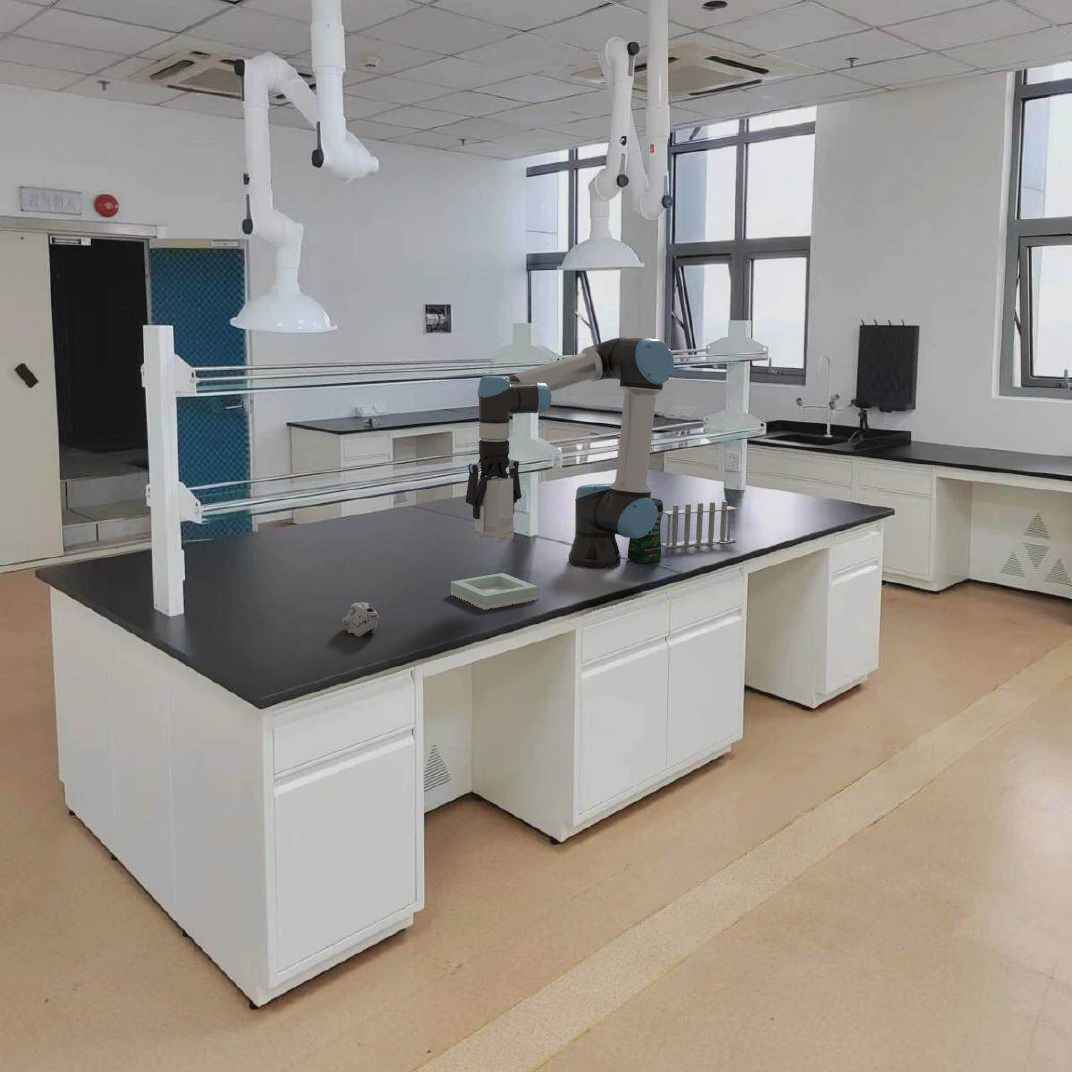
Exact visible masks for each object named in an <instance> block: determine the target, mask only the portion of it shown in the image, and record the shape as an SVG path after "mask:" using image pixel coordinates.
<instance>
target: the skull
mask: <svg viewBox="0 0 1072 1072" xmlns="http://www.w3.org/2000/svg"><path fill="white" fill-rule="evenodd" d="M378 621H380V616H379V614H378V612H377V611H376V610H375V608H374V607H370V603H368V602H365V601H364V602H363V601H361V602H353V603H352V604H351V606H350V609H349V610H348V612H347V615H346V616H344V617H342V619H341V622H342V625H343V627H344V628H346V629H347V633H348V634H354V636H356V637H357V638H358V637H361V636H363V635H365V634H366V633H367V632H369V631H372V632H373V633H376V631H377V626H378Z"/></svg>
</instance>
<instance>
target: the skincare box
mask: <svg viewBox="0 0 1072 1072" xmlns="http://www.w3.org/2000/svg"><path fill="white" fill-rule="evenodd" d="M485 477H486V476H485ZM480 481H481V479H480V477H478V483H479V482H480ZM478 483H477V486H478ZM481 506H484V532H478V531H475V519H474V518H473V522H474V524H473V525H474V527H473V528H474V530H473V531H474V540H475V539H477V540H482V541H487V542H488V541H490V542H495V543H504V542H506V541H510V540H512V539H514V538H515V537H514V535H515V533H514V532H515V531H514V529H515V528H514V520H515V519H514V514H513V478H510V477H508V478H501V477H497V476H495V477H492V478H491V480H487V489H486V492H485V495H484V497H483V500H482V503H481Z"/></svg>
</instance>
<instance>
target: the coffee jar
mask: <svg viewBox="0 0 1072 1072" xmlns="http://www.w3.org/2000/svg"><path fill="white" fill-rule="evenodd" d="M651 500H652V501H653V502H654V503H655V506H657V510H658V516H657V520H656V523H655V525H654V527H653V528H652V530H651V531H649V532H648V534H647V535H645V536H644V537H641V538H637V539H634V538H629V540H628V543H629V544H628V549H627V559H628V560H629V561H630V562H632V563H639V564H648V563H649V564H650V563H654V562H660V560H661V559H662V546H661V538H662V537H661V522H662V518H663V515H664V513H663V511H664V504H663V500H662V499H659V498H656V497H651Z"/></svg>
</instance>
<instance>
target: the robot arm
mask: <svg viewBox="0 0 1072 1072" xmlns="http://www.w3.org/2000/svg"><path fill="white" fill-rule="evenodd" d="M674 359H675V358H674V356H673V353H672V350H671V349H670V348H669V346H668V345H667V344H666V343H665V341H664V342H663V341H662V340H660V339H656V338H655V339H653V338H651V337H648V338H646V337H645V338H644V337H642V338H641V337H640V338H639V337H627V336H626V337H625V336H622V337H616V338H612V339H608V340H605V341H603V342H600V343H597V344H596V343H595V344H594V345H591V346H587V347H585V348H583V349H582V350H581V351H580V353H578V354H574V355H571V356H568V357H565V358H562V359H559V360H555V361H552V362H549V363H546V364H543V365H539V366H536V367H533V368H530V369H528V370H524V371H520V372H518V373H517V372H516V373H514V374H511V375H508V376H505V375H485V376H482V377H481V378H480V379H479V385H478V389H477V396H478V421H479V422H478V428H479V429H478V438H479V439H480V440H479V441H478V454H479V460H478V461H477V462H476V463H469V464H468V465H467V466H468V481H467V488H466V496H465V503H466V504H468V505H471V506H472V518H473V520H474V519H475V531H478V532H484V506H481V503H482V500H483V497H484V495H485V492H486V489H487V480H491V478H492V477H501V478H513V515H514V514H515V504H517V502H518V500H520V499H522V492H521V483H520V476H519V475H520V474H519V467H520V461H519V460H514V459H511V460H510V458H509V455H510V440H509V438H510V435H511V434H510V417H511V415H515V414H516V415H517V414H518V415H519V414H539V413H544V412H546V411H548V410H549V408H550V406H551V404H552V393H553V392H556V391H559V390H562V389H565V388H568V387H571V386H574V385H577V384H580V383H583V382H586V381H590V382H592V383H593V382H598V381H601V380H619V389H621V391H622V392H623V395H624V396H623V403H622V405H623V406H622V413H621V425H620V433H619V435H620V436H619V445H618V453H617V463H616V472H615V474H616V475H615V481H614V482H613V483H592V484H583V485H580V486H579V487H578V488H576V492H575V499H574V500H575V510H574V511H575V514H574V515H575V518H574V519H575V521H574V524H575V525H574V526H575V529H574V539H573V542H572V545H571V548H570V551H569V552H568V563H569V564H570V565H571V566H574V567H578V568H583V569H594V570H595V569H597V570H598V569H599V570H600V569H610V568H615V567H618V566H620V565H621V560H622V559H621V558H622V557H621V553H620V548H619V545H618V542H617V538H616V535H618V536H620V537H623V538H627V539H628V538H629V539H630V538H634V539H637V538H641V537H644V536H645V535H647V534H648V532H649V531H651V530H652V528H653V527H654V525H655V523H656V520H657V516H658V510H657V506H655V503H654V502H653V501H652V500H651V498H652V497H651V496H652V489H651V488H650V487H649V485H648V476H649V475H648V474H649V465H650V456H651V455H650V454H651V446H652V436H653V427H654V418H655V409H656V408H655V407H656V399H657V396H658V395H659V394H661V392H663V386H664V384H665V383H666V382H667V381H669V380H670V377H672V376H673V372H674V367H675V360H674ZM507 469H508V471H507ZM479 472H480V474H479ZM508 474H509V475H508ZM485 476H486V477H485ZM478 478H480V479H481V481H480V482H479V483H478ZM477 483H478V486H477Z"/></svg>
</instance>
